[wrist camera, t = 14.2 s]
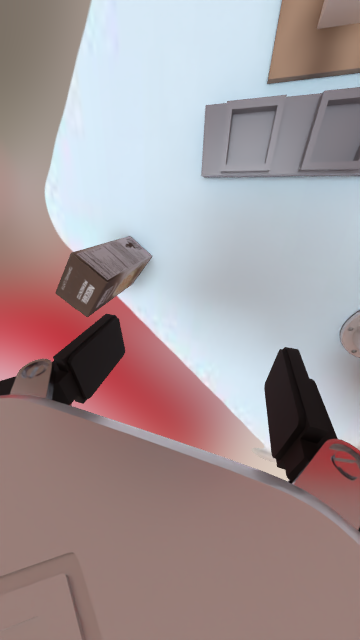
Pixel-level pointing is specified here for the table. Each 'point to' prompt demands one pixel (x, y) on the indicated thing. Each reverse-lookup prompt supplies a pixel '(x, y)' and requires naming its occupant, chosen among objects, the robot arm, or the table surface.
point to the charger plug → (339, 13)
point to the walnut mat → (312, 45)
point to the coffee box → (101, 273)
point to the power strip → (284, 136)
